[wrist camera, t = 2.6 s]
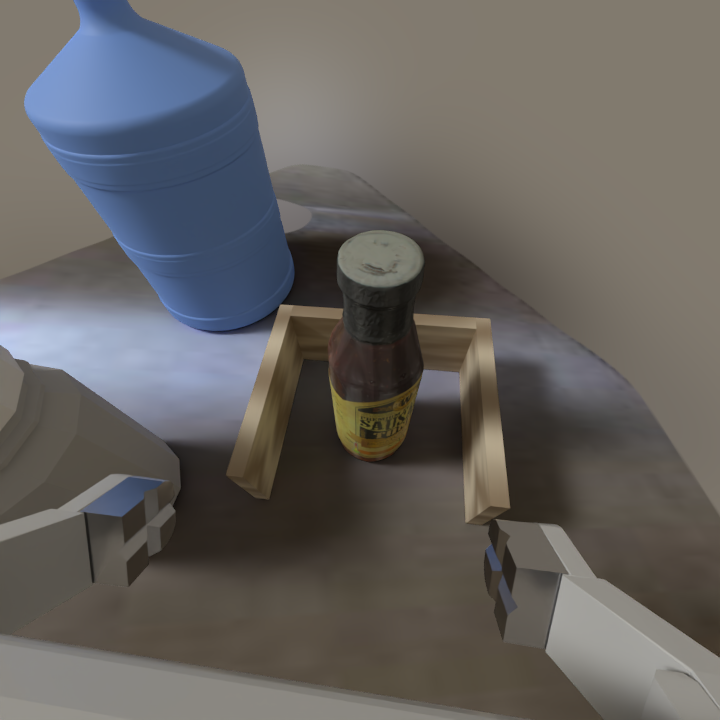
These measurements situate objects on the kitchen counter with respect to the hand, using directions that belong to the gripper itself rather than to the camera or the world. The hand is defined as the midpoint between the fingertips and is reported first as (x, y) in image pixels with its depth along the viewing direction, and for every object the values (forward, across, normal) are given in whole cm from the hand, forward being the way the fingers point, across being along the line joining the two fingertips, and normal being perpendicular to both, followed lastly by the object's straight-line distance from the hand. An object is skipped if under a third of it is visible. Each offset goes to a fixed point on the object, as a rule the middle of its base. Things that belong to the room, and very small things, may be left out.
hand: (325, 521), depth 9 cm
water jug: (+35, +19, -5) cm, 40 cm away
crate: (+22, 0, +7) cm, 24 cm away
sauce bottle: (+22, 0, +7) cm, 24 cm away
